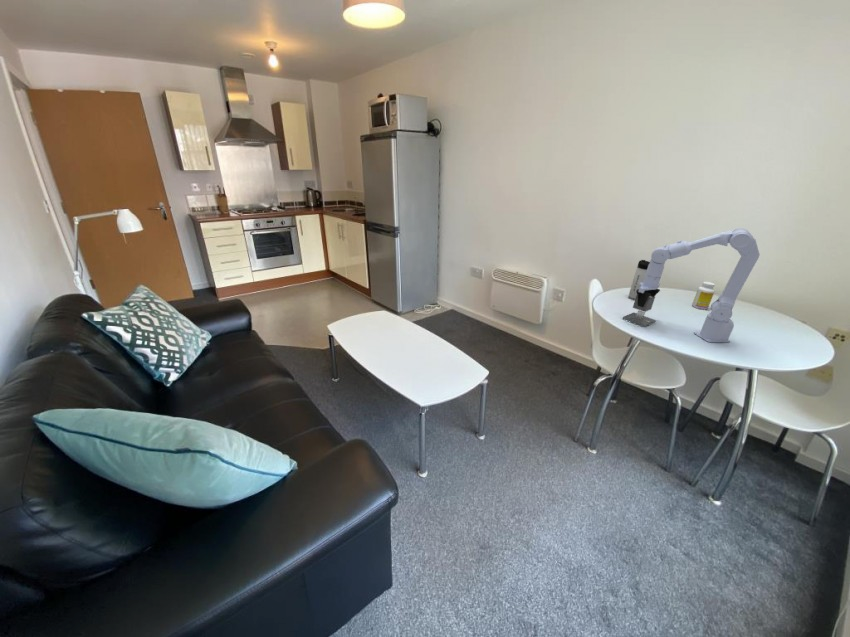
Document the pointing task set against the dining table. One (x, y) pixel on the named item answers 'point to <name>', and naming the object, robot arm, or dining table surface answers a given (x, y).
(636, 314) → the plate
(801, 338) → the dining table surface
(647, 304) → the grey cube with tab
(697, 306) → the supplement bottle
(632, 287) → the travel mug
